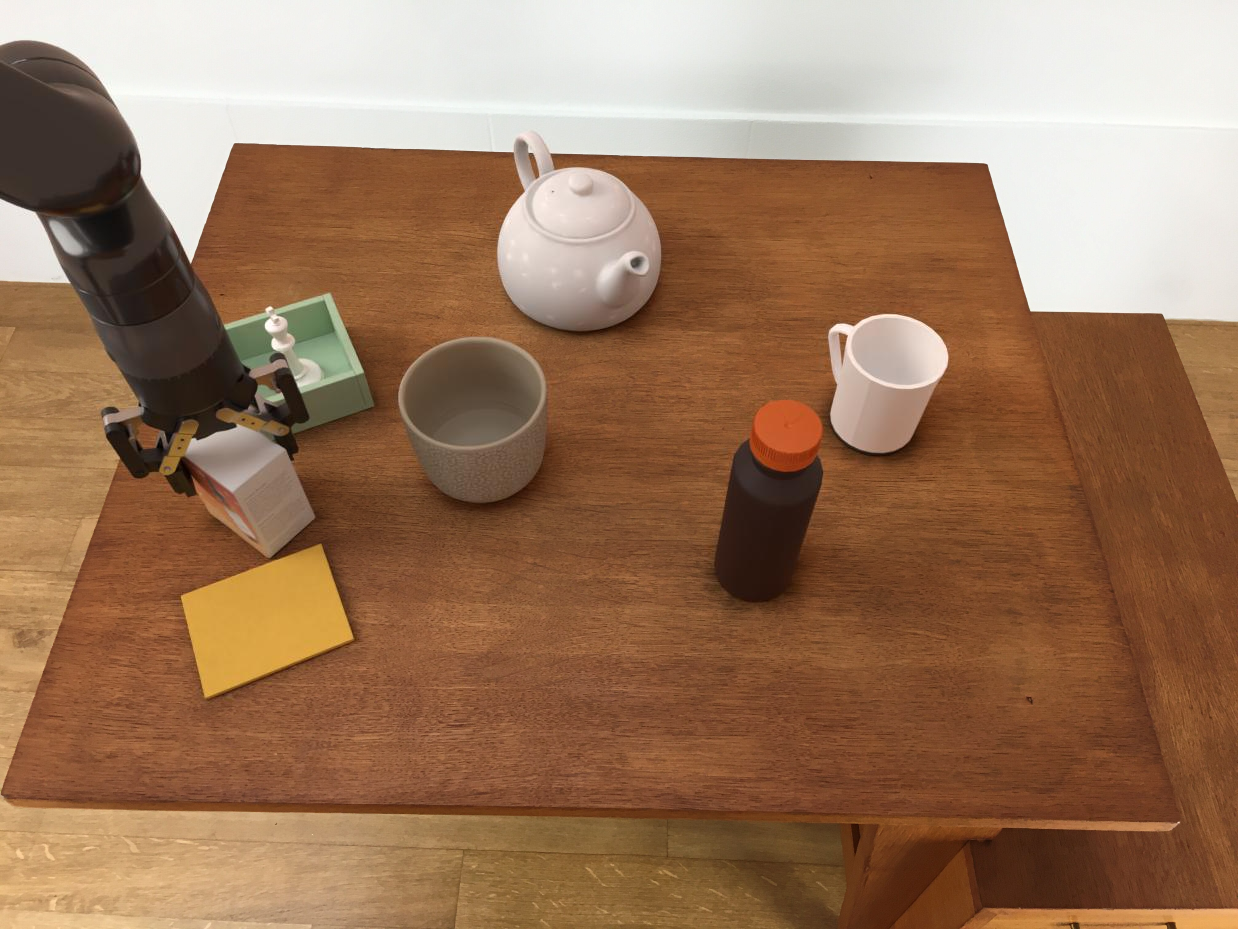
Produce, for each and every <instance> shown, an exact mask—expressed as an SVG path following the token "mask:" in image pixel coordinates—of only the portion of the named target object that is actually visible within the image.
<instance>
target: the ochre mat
mask: <svg viewBox="0 0 1238 929" xmlns="http://www.w3.org/2000/svg"><path fill="white" fill-rule="evenodd" d="M180 598H181V604H182V608H183V612H184V616H185V619H186V624H187V628H188V633H189V637H190V640H191V645H192V649H193V653H194V658H195V662H196V665H197V666H196V667H197V670H198V674H199V679H200V684H201V686H202V687H201V688H202V692H203V695H204V699H205V700H206V701H207V700H210V699H213V698H215V697H217V696H220V695H222V694H225V693H227V692H230V691H232V690H234V689H238V688H240V687H242V686H245V685H247V684H250V683H252V682H255V681H258V680H260V679H263V678H265V677H268V676H270V675H272V674H275V673H277V672H280V671H282V670H286V669H288V668H290V667H292V666H294V665H297V664H299V663H303V662H305V661H307V660H310V659H312V658H315V657H317V656H320V655H322V654H326V653H327V652H330V651H332V650H334V649H337V648H339V647H342V646H344V645H347V644H350V643H352V642H355V636H354V634H353V631H352V628H351V626H350V622H349V618H348V617H347V614H346V611H345V608H344V605H343V602H342V599H341V597H340V594H339V591H338V586H337V585H336V581H335V579H334V576H333V573H332V569H331V568H330V564H329V561H328V559H327V555H326V553H325V550H324V547H323V545H322V543H319V544H316V545H313V546H310V547H307V548H306V549H302V550H299V551H297V552H295V553H291V554H288V555H287V556H284V557H283V556H282V557H281V558H278V559H275V560H273V561H270V562H268V563H264V564H262V565H260V566H256V567H254V568H251V569H249V570H246V571H243V572H240V573H237V574H235V575H232V576H229V577H226V578H224V579H222V580H218V581H216V582H214V583H210V584H208V585H206V586H203V587H200V588H198V589H195V590H192V591H189V592H187V593H184V594H181V595H180Z"/></svg>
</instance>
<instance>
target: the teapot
mask: <svg viewBox="0 0 1238 929" xmlns="http://www.w3.org/2000/svg"><path fill="white" fill-rule="evenodd" d="M529 149H530V150H531V152H532V154H533V156H534V159H535V161H536V165H537V170H538V178H536V175H535V173H534V170H533V168H532V163H531V160H530V153H529ZM513 158H514V163H515V167H516V171H517V174H518V177H519V180H520V183H521V185H522V188H523V191H524V192H523V193H522V194H521V195H520V196H519V197H518V199H517V200H516V201H515V202H514V203H513V204H512V206H511V208H510V209H509V211H508V213H507V214H506V215H505V218H504V220H503V221H502V222H503V223H502V224H501V228H500V232H499V235H498V241H497V250H496V256H497V267H498V273H499V277H500V280H501V283H502V285H503V288H504V289H505V292H506V294H507V296H508V297H509V299H510V301H511V302H512V303H513V304H514V305H515V306H516V308H518V310H520V311H521V312H522V313H523V314H525V315H526V316H527V317H528V318H530V319H532V320H534V321H536V322H538V323H540V324H542V325H545V326H547V327H551V328H554V329H557V330H561V331H570V332H588V331H589V332H591V331H597V330H603V329H607V328H609V327H613V326H616V325H618V324H620V323H622V322H624V321H626V320H628V319H629V318H631V317H633V316H634V315H635V314H636V313H637V312H638V311H639V310H641V308H642V307H643V306H644V305H645V304H646V303H647V302H648V301H649V299H651V296H652V295H653V293H654V291H655V288H656V286H657V284H658V280H659V276H660V273H661V265H662V245H661V244H662V243H661V240H660V238H661V237H660V235H659V231H658V228H657V225H656V223H655V220H654V218H653V216H652V214H651V213H650V211H649V209H648V208H647V206H646V205H645V204H644V202H642V200H641V199H640V198H639V197H638V196H637V195H636V194H635V193H634V192H633V191H631V189H630V188H629V187H628V186H627V185H626V184H625V183H624V182H623V181H621V180H620V179H619V178H618V177H616V176H615V175H613V174H611V173H608V172H605V171H603V170H599V169H595V168H590V167H579V166H577V167H576V166H575V167H565V168H559V169H556V170H555V167H554V166H555V165H554V163H553V159H552V155H551V153H550V149H549V148H548V146H547V144H546V143H545V141H544V139H543V138H542V136H540V134H539V133H538V132H536V131H534V130H526V131H523V132H521V133H518V134H517V136H515V139H514V142H513Z"/></svg>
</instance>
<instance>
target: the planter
mask: <svg viewBox="0 0 1238 929" xmlns="http://www.w3.org/2000/svg"><path fill="white" fill-rule="evenodd" d="M397 401H398V408H399V412H400V415H401V419H402V422H403V425H404V428H405V431H406V434H407V437H408V439H409V441H410V444H411V446H412V448H413V452H414V453H415V456H416V459H417V460H418V462H419V464H420V466H421V468H422V470H423V472H424V473H425V475H426V476H427V478H428V479H429V481H430V482H431V483H432V484H433V486H435V487H436V488H437V489H438V490H440V491H441V492H442V493H444V494H445V495H447V496H448V497H451V498H453V499H455V500H459V501H461V502H462V501H463V502H466V503H472V504H473V503H474V504H486V503H488V504H489V503H493V502H498V501H501V500H505V499H507V498H509V497H511V496H513V495H515V494H517V493H518V492H520V491H521V490H522V489H524V488H525V487H526V486H527V485H528V484H529V483H530V482H531V481H532V480H533V479H534V477H535V476H536V474H537V472H538V471H539V470H540V466H541V465H542V462H543V460H544V455H545V448H546V443H547V432H548V431H547V430H548V405H549V404H548V387H547V380H546V376H545V374H544V371H543V369H542V367H541V365H540V364H539V362H538V361H537V360H536V359H535V357H533V356H532V355H531V354H530V353H529V352H528V351H527V350H525V349H523V348H522V347H520V346H518V345H517V344H515V343H513V342H511V341H507V340H504V339H502V338H501V339H500V338H497V337H490V336H467V337H460V338H455V339H451V340H448V341H445V342H443V343H440V344H438V345H435V346H434V347H432V348H430V349H429V350H427V351H425V352H424V353H422V354H421V355H420V356H419V357H417V358H416V359H415V360H414V362H412V363H411V364H410V366H409V367H408V369H407V370H406V372H405V373H404V375H403V377H402V379H401V382H400V385H399V388H398V394H397Z"/></svg>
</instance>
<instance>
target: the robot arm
mask: <svg viewBox="0 0 1238 929" xmlns="http://www.w3.org/2000/svg"><path fill="white" fill-rule="evenodd" d="M141 158H142V157H141V153H140V148H139V145H138V142H137V139H136V137H135V135H134V132H133V131H132V129H131V127H130V125H129V124H128V122H127V120H126V119H125V117H124V116H123V114H122V113H121V111H120V110H119V108H118V106H117V105H116V103H115V101H114V100H113V98H112V96H111V95H110V93H109V91H108V90H107V89H106V86H105V85H104V84H103V82H102V81H101V79H100V77H99V76H98V75H97V74H96V73H95V72H94V70H93V69H92V68H90V67H89V66H88V65H87V63H85V62H84V61H83V60H81V59H80V58H79V57H78V56H76V55H75V54H73V53H71V52H70V51H68V50H66V49H64V48H62V47H59V46H57V45H55V44H51V43H48V42H45V41H39V40H34V39H33V40H32V39H18V40H12V41H10V42H9V41H8V42H6V43H2V44H0V200H1V201H5V202H6V203H8V204H11V205H13V206H16V207H19V208H20V209H24V210H27V211H30V212H33V213H34V214H36V216H37V218H38V219H39V222H40V223H41V225H42V226H43V228H44V230H45V232H46V235H47V237H48V240H49V242H50V244H51V247H52V250H53V252H54V254H55V256H56V259H57V261H58V263H59V265H60V267H61V269H62V272H63V273H64V274H65V277H66V278H67V280H68V282H69V284H70V286H72V288H73V290H74V291H75V293H76V294H77V296H78V299H80V301H81V303H82V304H83V306H84V308H85V309H86V312H87V313H88V315H89V317H90V319H91V321H92V324H93V328H94V330H95V332H96V334H97V336H98V339H100V342H101V343H102V345H103V347H104V349H103V350H105V352H106V354H107V355H108V358H110V361H112V362H113V363H114V364H115V365H116V367H117V369H118V370H119V371H120V374H121V375H122V377H123V378H124V380H125V382H126V383H127V385H128V386H129V388H130V389H131V391H132V392H133V394H134V396H135V397H136V399H137V401H138V405H137V406H134V407H130V408H128V409H125V410H122V411H120V410H119V408H118V407H116V406H106V407H104V408H103V409H101V412H100V415H101V422H102V425H103V429H104V435H105V438H106V440H107V441H108V443H109V444H110V446H111V447H112V449H113V450H114V451H115V453H116V454H117V456H118V457H119V459H120V460H121V462H122V463H123V464H124V466H125V468H126V469H127V470H128V472H129V473H130V475H131V476H132V478H134V479H137V480H139V479H141V480H142V479H144V478H147V477H148V476H149V474H150V473H159V474H160V475H163V476H164V478H165V479H166V481H167V482H168V484H169V485H170V488H172V490H173V491H174V492H175V493H176V494H178V495H181V494H185V496H186V497H187V498H192V497H193V496H197V495H198V493H197V491H196V489H195V485H194V481H193V478H192V476H191V474H190V472H189V471H188V469H187V468H186V466H185V464H184V463H183V461H182V459H181V457H184V456H185V453H186V451H187V449H188V446H189V444H190V441H191V439H194V438H196V440H197V441H198V440H201V439H204V438H207V437H209V436H210V435H212V434H214V433H216V432H221V431H228V430H231V429H234V428H236V427H237V425H236V424H238V425H241V426H243V427H246V428H249V429H251V430H254V431H256V432H259V431H260V430H264V431H267V432H269V433H272V434H273V436H274V439H275V440H274V442H275V443H277V444H278V445H280V446H281V447H283V448H284V449H286V451H287V454H288V456H289V458H290V460H291V462H293V461H295V458H294V456H293V455H295V454H298V453H299V446H298V443H297V439H296V437H295V433H294V434H293V432H292V430H291V427H292V426H293V425H294V424H295V423H298V424H302V423H305V422H307V421H308V420H309V418H310V417H309V414H308V411H307V408H306V406H305V403H304V400H303V398H302V395H301V393H300V390H299V388H298V385H297V383H296V381H295V378H294V376H293V374H292V371H291V369H290V366H289V364H288V362H287V359H286V357H285V355H284V354H283V353H274V354H272V355H271V356H270V358H269V360H270V363H271V364H268V365H265V366H262V367H259V368H256V369H252V370H251V369H250V368H249V367H247V366H245V365H244V364H242V363H241V361H240V359H239V357H238V355H237V353H236V351H235V348H234V346H233V344H232V342H231V340H230V338H229V336H228V333H227V331H226V329H225V327H224V325H225V324H224V323H223V320H222V317H221V316H220V313H219V312H218V309H217V307H216V306H215V303H214V301H213V299H212V297H211V295H210V293H209V291H208V289H207V288H206V286H205V285H204V283H203V282H202V280H201V279H200V278H199V276H198V274H197V273H196V271H195V269H194V268H193V266H192V263H191V261H190V259H189V257H188V255H187V252H186V250H185V248H184V246H183V244H182V242H181V239H180V238H179V236H178V234H177V232H176V230H175V228H174V226H173V225H172V223H171V221H170V220H169V218H168V217H167V215H166V213H165V212H164V210H163V209H162V208H161V206H160V205H159V202H157V200H156V199H155V197H154V196H153V194H152V192H151V191H150V189H149V187H148V186H147V184H146V181H145V179H144V178H143V175H142V159H141ZM259 385H265V386H267V387H268V388H269V389H270V390H273V391H275V393H277V394H279V393H281V392H282V394H283V396H284V398H285V401H286V402H285V403H283V404H281V405H278V404H276V403H273V402H271V401H269V400H266V399H264V398H263V397H262V396H261V395H260V394H259V393H258V392H257V389H258V386H259ZM143 424H145V425H146V426H147V427H149V428H153V429H155V430H158V435H157V437H156V440H155V442H154V445H153V447H152V448H151V447H150V448H144V447H143V445H142V444H141V442H140V440H139V439H138V438H137V437H138V436H139V434H140V428H139V427H140V426H141V425H143Z"/></svg>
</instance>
